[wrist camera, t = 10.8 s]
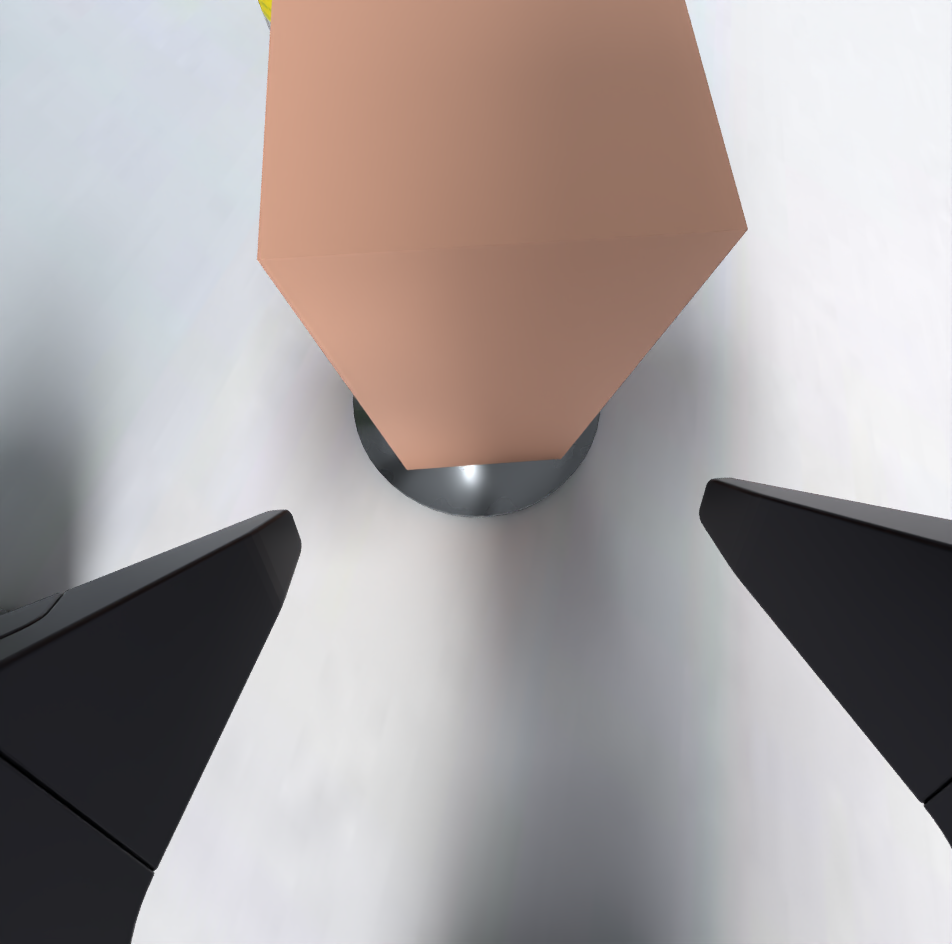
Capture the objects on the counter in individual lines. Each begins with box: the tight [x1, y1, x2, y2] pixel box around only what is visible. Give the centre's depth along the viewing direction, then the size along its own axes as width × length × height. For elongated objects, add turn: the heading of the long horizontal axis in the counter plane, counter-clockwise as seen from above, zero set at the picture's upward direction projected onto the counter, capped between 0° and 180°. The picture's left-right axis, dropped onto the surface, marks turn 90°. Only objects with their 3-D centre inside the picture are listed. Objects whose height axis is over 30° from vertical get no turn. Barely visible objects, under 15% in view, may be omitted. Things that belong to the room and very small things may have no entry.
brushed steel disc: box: [353, 395, 600, 517], centre depth 16 cm, size 11×11×4 cm
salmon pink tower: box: [257, 0, 748, 470], centre depth 12 cm, size 7×7×12 cm
